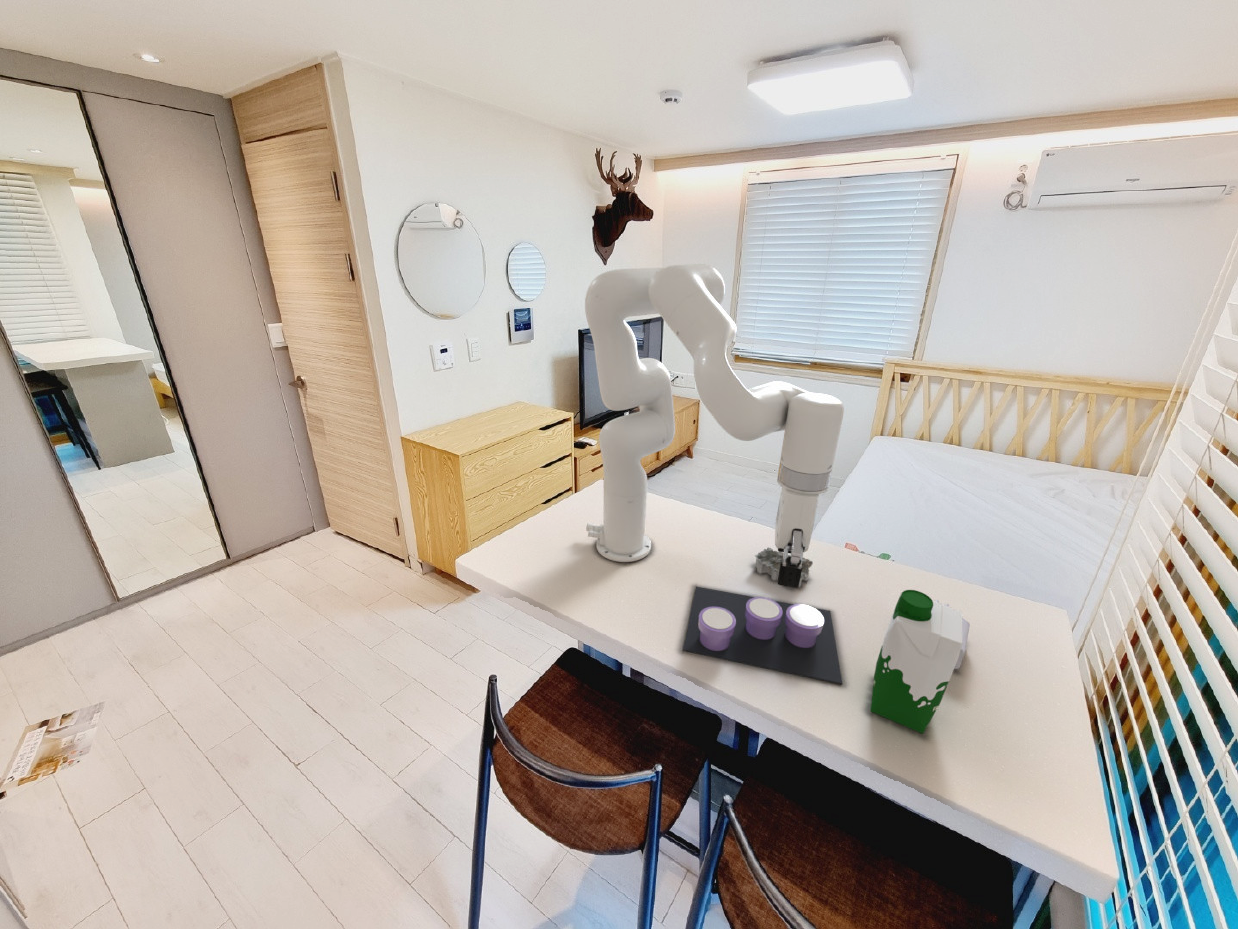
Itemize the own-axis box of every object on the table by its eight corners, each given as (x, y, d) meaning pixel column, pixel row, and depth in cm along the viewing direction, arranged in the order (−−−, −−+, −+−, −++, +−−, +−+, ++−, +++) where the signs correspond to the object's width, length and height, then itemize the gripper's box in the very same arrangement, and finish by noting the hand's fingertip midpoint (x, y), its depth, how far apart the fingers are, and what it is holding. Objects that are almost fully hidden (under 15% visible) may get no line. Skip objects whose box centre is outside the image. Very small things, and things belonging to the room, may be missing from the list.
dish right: (782, 645, 88) (786, 624, 86) (781, 621, 94) (785, 600, 92) (820, 653, 87) (826, 631, 85) (817, 628, 93) (822, 607, 91)
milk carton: (871, 674, 83) (901, 576, 75) (933, 699, 79) (973, 598, 71) (862, 713, 77) (895, 610, 68) (930, 742, 72) (974, 636, 64)
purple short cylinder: (694, 648, 87) (696, 627, 85) (698, 624, 93) (701, 603, 91) (731, 656, 86) (735, 634, 84) (733, 631, 92) (737, 609, 90)
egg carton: (812, 578, 107) (816, 562, 105) (794, 593, 102) (797, 576, 101) (768, 555, 114) (771, 540, 112) (749, 568, 109) (752, 553, 108)
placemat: (682, 650, 87) (682, 649, 87) (695, 587, 103) (696, 586, 103) (842, 684, 81) (842, 683, 81) (830, 612, 97) (830, 610, 97)
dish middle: (741, 637, 90) (745, 616, 88) (743, 614, 96) (746, 593, 94) (778, 645, 89) (783, 623, 87) (778, 620, 94) (782, 600, 92)
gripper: (778, 451, 85) (765, 537, 92) (778, 497, 70) (762, 595, 77) (825, 457, 83) (808, 544, 90) (835, 504, 68) (814, 605, 75)
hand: (787, 568), depth 84 cm, fingers open, 9 cm apart
